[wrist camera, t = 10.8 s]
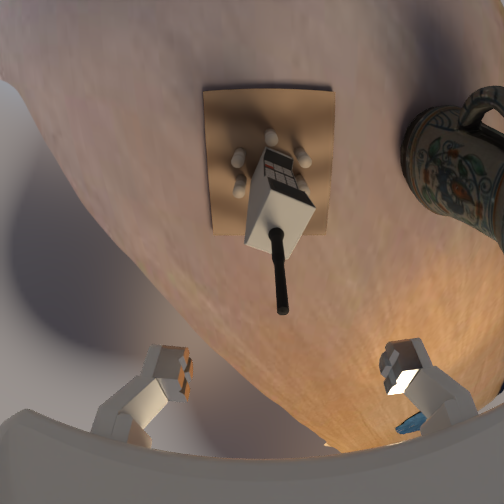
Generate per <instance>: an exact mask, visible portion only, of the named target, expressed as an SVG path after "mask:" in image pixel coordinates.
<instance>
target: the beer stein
mask: <svg viewBox="0 0 504 504" xmlns="http://www.w3.org/2000/svg"><path fill="white" fill-rule="evenodd" d="M493 108H494V109H495V110H497V111H498V112H499V113H500V114H501V115H502V116H503V117H504V87H501V86H488V87H484V88H481V89H478V90H477V91H475V92H474V93H472V94H471V95H470V97H469V98H468V99H467V100H466V102H465V104H464V105H463V107H462V108H460V107H457V106H450V105H446V106H440V107H435V108H430V109H428V110H426V111H424V112H422V113H420V114H419V115H418V116H417V117H416V118H415V119H414V121H413V122H412V123H411V124H410V126H409V127H408V128H407V131H406V134H405V137H404V140H403V143H402V146H401V166H402V171H403V175H404V177H405V179H406V181H407V183H408V185H409V187H410V189H411V191H412V192H413V194H414V195H415V196H416V198H417V199H418V200H419V202H420V203H421V204H422V205H423V206H424V207H425V208H427V209H428V210H430V211H431V212H433V213H435V214H439V215H442V216H449V217H452V218H455V219H457V220H460V221H462V222H464V223H466V224H468V225H469V226H471V227H473V228H475V229H477V230H478V231H480V232H482V233H483V234H485V235H487V236H488V237H490V238H492V239H493V240H495V241H496V242H498V244H499V247H500V248H501V250H502V251H503V253H504V134H503V133H501V132H499V131H497V130H495V129H493V128H491V127H489V126H487V125H486V124H484V123H482V121H481V120H482V118H483V116H484V114H485V113H486V112H488V111H490V110H492V109H493Z"/></svg>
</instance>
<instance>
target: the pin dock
mask: <svg viewBox="0 0 504 504" xmlns="http://www.w3.org/2000/svg"><path fill="white" fill-rule="evenodd" d="M203 101H204V119H205V136H206V151H207V165H208V178H209V191H210V202H211V214H212V224H213V235H245V230H246V220H247V211H248V201H249V192H250V183H251V179H252V176H253V174H254V172H255V169H256V167H257V165H258V162H259V160H260V158H261V155H262V153H263V151H264V149H265V147H268V148H271V149H273V150H276V151H278V152H281V153H283V154H285V155H288V156H290V157H292V158H293V159H294V161H293V168H292V171H293V174H294V176H295V179H296V181H297V184H298V187H299V189H300V190H301V191H305V192H306V194H307V195H308V197H309V198H310V200H311V201H312V203H313V204H314V206H315V207H316V209H315V211H314V213H313V215H312V217H311V219H310V220H309V222H308V224H307V226H306V228H305V230H304V231H303V233H302V235H326V227H327V218H328V208H329V197H330V186H331V173H332V159H333V142H334V121H335V92H329V91H317V90H301V89H231V90H215V91H203Z"/></svg>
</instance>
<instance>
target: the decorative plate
mask: <svg viewBox="0 0 504 504" xmlns="http://www.w3.org/2000/svg"><path fill="white" fill-rule="evenodd" d="M427 420H428V419H427V418H426V416H425V415H424V414H423V413H422V412H420V413H418V414H416V415H414V416H413V417H411V418H409V419H408V420H406V421H405V422H404V423H403V424H402V425H400V426H398V427H396V428H395V429H396V430H398V429H400V430H398V431H396V432H397V433H398V432H399V431H400V432H399V433H400V434H405V433H411V432H415V431H418V430H420V427H421V425H422V424H424V423H425V422H426V421H427ZM413 425H414V426H413ZM411 426H412V427H411ZM409 427H410V428H409ZM403 429H404V430H403ZM401 430H402V431H401Z"/></svg>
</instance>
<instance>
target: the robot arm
mask: <svg viewBox="0 0 504 504" xmlns="http://www.w3.org/2000/svg"><path fill="white" fill-rule="evenodd" d="M385 349H386V351H385V352H384V353H382V355H381V357H380V361H379V368H380V372H381V375H382V376H384V377H385V380H384V386H385V390H386V393H387V395H391V394H397V393H403V392H404V394H405V395H406V396H407V397H408V398H409V399H410V401H411V402H412V403H413V404H414V405H415V406H416V407H417V408H418V409H419V410H420V411H421V412H422V413H423V414H424V415H425V416H426V418H427V419H428V420H427V421H426V422H425V423H424V424H422V425H421V427H420V431H421V435H422V436H419V437H416V438H413V439H409V440H405V441H402V442H398V443H394V444H389V445H385V446H380V447H376V448H371V449H366V450H360V451H354V452H348V453H341V454H334V455H326V456H317V457H304V458H287V459H233V458H218V457H207V456H197V455H189V454H181V453H175V452H167V451H162V450H157V449H151V444H152V439H151V438H150V436H149V435H148V434H147V433H146V432H145V431H144V430H143V429H144V428H145V427H146V426H147V425H148V424H149V423H150V421H151V420H152V419H153V418H154V417H155V416H156V415H157V414H158V413H159V412H160V410H161V409H162V408H163V407H164V406H165V405H166V404H167V403H168V401H176V402H188V397H189V393H190V387H189V385H188V383H189V382H190V381H191V380H192V376H193V362H192V359H191V358H189V350H188V348H186V347H175V346H166V345H156V344H152V345H151V346H150V347H149V350H148V353H147V356H146V359H145V362H144V365H143V368H142V371H141V374H140V376H136V377H134V378H133V379H132V380H131V381H130V382H128V383H127V384H126V385H125V386H123V387H122V388H121V389H120V390H119V391H117V392H116V393H115V394H114V395H113V396H111V397H110V398H109V399H108V400H107V401H105V402H104V403H103V404H102V405H100V406H99V408H98V411H97V414H96V417H95V420H94V423H93V426H92V429H91V432H90V433H89V432H86V431H83V430H80V429H77V428H75V427H72V426H69V425H66V424H64V423H61V422H58V421H56V420H54V419H51V418H49V417H46V416H44V415H42V414H40V413H37V412H35V411H33V410H30V409H24V410H22V411H20V412H18V413H16V414H15V415H13V416H11V417H10V418H8V419H7V420H6V421H4V422H3V423H2V424H1V426H0V504H504V403H502V404H500V405H498V406H496V407H494V408H492V409H490V410H488V411H486V412H484V413H481V414H479V415H478V412H477V409H476V407H475V404H474V402H473V399H472V397H471V394H470V392H469V391H468V390H466V389H465V388H464V387H462V386H461V385H460V384H459V383H457V382H456V381H455V380H453V379H452V378H451V377H450V376H448V375H447V374H446V373H444V372H443V371H442V370H441V369H439V368H438V367H437V366H433V365H432V362H431V360H430V358H429V356H428V353H427V351H426V349H425V347H424V345H423V343H422V340H421V339H420V338H413V339H405V340H398V341H391V342H388V343H387V344H386V346H385Z"/></svg>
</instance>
